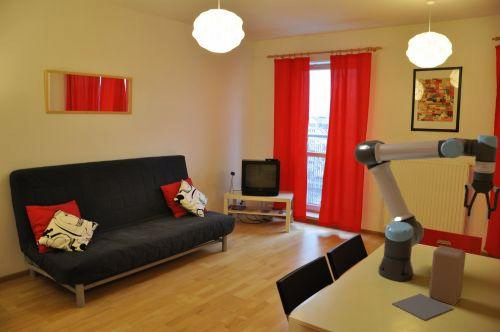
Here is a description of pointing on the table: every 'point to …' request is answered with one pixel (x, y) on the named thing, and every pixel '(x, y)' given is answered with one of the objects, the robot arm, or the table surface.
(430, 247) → the table surface
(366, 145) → the robot arm
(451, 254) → the wooden block
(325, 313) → the table surface
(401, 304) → the mat
